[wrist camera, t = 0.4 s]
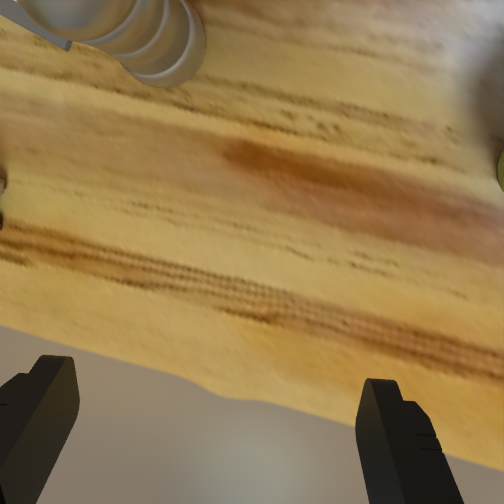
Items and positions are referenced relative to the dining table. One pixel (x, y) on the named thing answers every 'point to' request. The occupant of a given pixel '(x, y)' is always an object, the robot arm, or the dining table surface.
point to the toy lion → (1, 187)
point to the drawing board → (30, 23)
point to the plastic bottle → (131, 33)
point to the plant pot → (501, 170)
